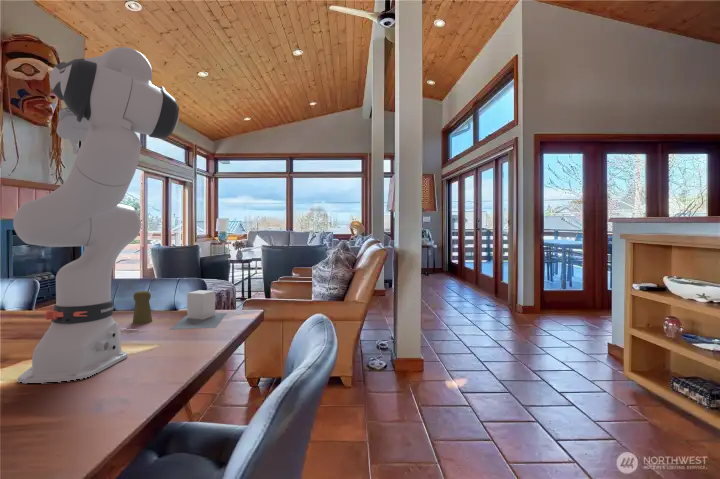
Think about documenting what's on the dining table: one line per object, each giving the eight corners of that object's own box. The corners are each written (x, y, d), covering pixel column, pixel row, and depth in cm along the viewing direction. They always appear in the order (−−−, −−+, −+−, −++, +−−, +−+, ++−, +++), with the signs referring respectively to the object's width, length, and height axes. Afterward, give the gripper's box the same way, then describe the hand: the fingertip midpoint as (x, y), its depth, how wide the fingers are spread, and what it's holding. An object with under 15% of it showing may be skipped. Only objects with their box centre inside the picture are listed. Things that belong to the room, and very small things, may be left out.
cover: (215, 315, 146) (214, 290, 146) (203, 319, 139) (203, 293, 139) (199, 314, 148) (199, 290, 147) (187, 318, 141) (187, 292, 141)
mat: (215, 329, 128) (215, 327, 128) (169, 330, 126) (169, 329, 126) (226, 314, 150) (226, 313, 150) (187, 315, 147) (187, 314, 147)
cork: (133, 322, 137) (132, 290, 137) (153, 320, 140) (152, 289, 139) (131, 326, 132) (131, 293, 131) (152, 324, 134) (151, 291, 134)
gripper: (63, 108, 114) (57, 154, 118) (137, 122, 130) (130, 162, 135) (55, 102, 117) (50, 147, 122) (129, 117, 134) (123, 156, 138)
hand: (93, 155), depth 128 cm, fingers open, 8 cm apart
